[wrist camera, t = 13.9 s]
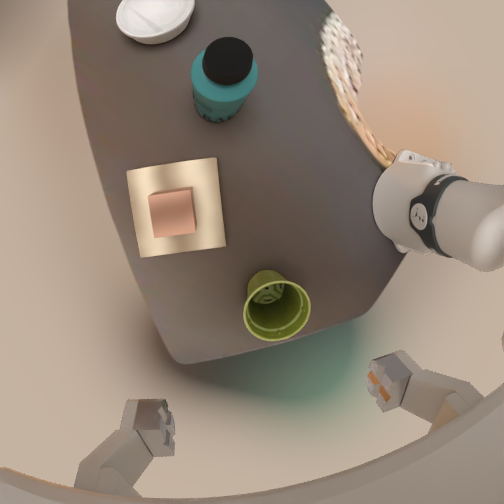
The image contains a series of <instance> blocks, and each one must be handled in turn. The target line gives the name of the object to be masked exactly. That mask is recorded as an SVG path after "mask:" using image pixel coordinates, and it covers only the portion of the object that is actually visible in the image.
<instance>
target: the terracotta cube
mask: <svg viewBox="0 0 504 504" xmlns="http://www.w3.org/2000/svg"><path fill="white" fill-rule="evenodd" d="M148 202H149V209H150V216H151V222H152V228H153V234H154V238H159V237H167V236H174V235H181V234H189V233H196V228H197V219H196V211H195V203H194V195H193V186H191V187H184V188H177V189H170V190H163V191H157V192H154V193H152V194H150V195H149V196H148Z"/></svg>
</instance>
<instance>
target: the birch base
mask: <svg viewBox="0 0 504 504" xmlns="http://www.w3.org/2000/svg"><path fill="white" fill-rule="evenodd" d="M127 179H128V187H129V194H130V200H131V207H132V213H133V219H134V225H135V230H136V236H137V241H138V246H139V251H140V256H141V258H143V257H150V256H157V255H165V254H172V253H179V252H187V251H194V250H202V249H209V248H217V247H225V246H226V242H225V233H224V225H223V216H222V207H221V198H220V188H219V179H218V169H217V159H216V157H215V158H207V159H199V160H191V161H184V162H177V163H170V164H164V165H158V166H152V167H146V168H141V169H135V170H130V171H127ZM191 186H193V195H194V203H195V211H196V219H197V228H196V233H189V234H181V235H174V236H167V237H159V238H154V234H153V228H152V222H151V216H150V209H149V202H148V196H149V195H150V194H152V193H154V192H157V191H163V190H170V189H177V188H184V187H191Z"/></svg>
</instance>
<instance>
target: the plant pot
mask: <svg viewBox="0 0 504 504" xmlns="http://www.w3.org/2000/svg"><path fill="white" fill-rule="evenodd" d="M279 283H281V284H282V287H281V289H280V288H279V287H280V284H279ZM265 287H268V289H267V290H266V289H265ZM247 293H248V299H247V300H246V303H245V305H244V310H243V318H244V322H245V325H246V327H247V328H248V330H249V331H250V332H251V333H252V334H253V335H254V336H256V337H257V338H259V339H262V340H266V341H280V340H284V339H287V338H289V337H291V336H293V335H294V334H296V333H297V332H299V331H300V330H301V329H302V328H303V326H304V325H305V324H306V322H307V320H308V318H309V315H310V311H311V304H310V299H309V297H308V295H307V293H306V292H305V290H304V289H303V288H301V287H300V286H299V285H297V284H295V283H293V282H290V281H287V280H286V279H285V278H284V277H282V276H281V275H280V274H279V273H277V272H276V271H273V270H262V271H259V272H257V273H256V274H255V275H254V276H253V277H252V278H251V279H250V281H249V283H248V288H247ZM268 299H272V300H270V301H264V300H268Z"/></svg>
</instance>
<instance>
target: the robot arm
mask: <svg viewBox="0 0 504 504" xmlns="http://www.w3.org/2000/svg"><path fill="white" fill-rule="evenodd" d="M409 156H410V159H409ZM373 214H374V218H375V221H376V224H377V226H378V228H379V229H380V231H381V232H382V233H383V234H384V235H385V236H386V237H388V238H389V239H391V240H392V241H393V243H394V245H395V247H396V249H397V250H398V251H399V252H401V253H406V252H408V251H410V250H413V251H415V252H418V253H421V254H423V255H429V254H430V253H433V252H435V253H436V254H439V255H441V256H445V257H449V258H455V259H457V260H460V261H462V262H464V263H466V264H468V265H469V266H471V267H474V268H475V269H477V270H479V271H484V272H489V271H494V270H496V269H499V268H501V267H503V266H504V185H492V184H483V183H476V182H470V181H468V180H467V179H465V178H463V177H460V176H458V175H456V172H455V170H454V168H453V167H452V164H451V163H447V162H440V161H437V160H434V159H431V158H428V157H426V156H423V155H420V154H417V153H414V152H411V151H408V150H403V149H402V150H400V151H399V152H398V154H397V156H396V158H395V160H394V162H393V164H392V165H390V166H389V167H388V168H387V169H386V170H385V171H384V172H383V173H382V175H381V176H380V178H379V180H378V182H377V184H376V187H375V190H374V194H373ZM502 346H503V350H504V333H503V336H502ZM369 368H370V370H371V371H370V372H369V374H368V375H367V379H366V383H367V388H368V391H369V392H370V394H371V395H372V396H374V397H377V400H376V403H377V404H378V406H379V407H380V409H381V410H382V412H386V411H389V410H391V409H394V408H397V407H399V406H400V407H401V408H403V409H405V410H407V411H409V412H411V413H413V414H415V415H416V416H418V417H421V418H423V419H425V420H426V421H429V422H431V423H432V426H431V428H430V430H429V432H428V434H427V435H425V436H423V437H422V438H420V439H418V440H416V441H414V442H412V443H410V444H408V445H406V446H404V447H401V448H399V449H397V450H395V451H393V452H391V453H388V454H386V455H384V456H381V457H379V458H377V459H374V460H372V461H369V462H367V463H364V464H362V465H359V466H357V467H353V468H350V469H348V470H345V471H342V472H339V473H335V474H332V475H329V476H326V477H322V478H319V479H315V480H312V481H308V482H304V483H300V484H296V485H292V486H287V487H283V488H277V489H272V490H267V491H261V492H255V493H248V494H241V495H233V496H223V497H209V498H185V499H166V498H143V497H142V496H141V495H139V494H138V493H137V491H135V489H133V487H132V486H133V485H134V484H135V483H136V481H137V480H138V478H139V477H140V476H141V474H142V473H143V472H144V470H145V469H146V468H147V466H148V465H149V463H150V462H151V461H152V459H153V457H163V456H174V449H175V442H174V440H173V438H172V437H173V436H174V435H175V423H174V419H173V415H172V413H171V412H170V411H168V404H167V402H166V400H165V399H137V400H135V399H133V400H132V399H131V400H129V399H128V400H127V401H126V403H125V408H124V412H123V416H122V421H121V426H120V430H115V431H114V432H113V433H112V434H111V435H110V436H109V437H108V438H107V439H106V440H105V441H104V442H102V443H101V444H100V445H99V446H98V447H97V448H96V449H95V450H94V451H92V452H91V453H90V454H89V455H88V456H87V457H86V458H85V459H84V460H82V461H81V462H80V464H79V468H78V472H77V476H76V480H75V484H74V488H72V487H68V486H64V485H60V484H56V483H52V482H48V481H45V480H41V479H38V478H35V477H32V476H29V475H25V474H23V473H20V472H17V471H14V470H12V469H9V468H6V467H1V468H0V504H504V383H503V384H502V385H501V386H500V387H498V388H497V389H496V390H494V391H493V392H492V393H490V394H489V395H488V396H486V397H485V398H484V397H483V396H482V395H481V394H480V393H479V392H478V391H477V390H476V389H475V388H474V387H473V386H472V385H471V384H470V383H469V382H466V381H463V380H459V379H456V378H452V377H449V376H446V375H442V374H439V373H436V372H433V371H429V370H426V369H425V370H422V369H421V368H420V367H419V366H418V365H417V364H416V363H415V361H413V359H412V358H411V357H410V356H409V355H408V354H407V353H406V352H405V351H403V350H399V351H396V352H394V353H391V354H388V355H385V356H382V357H379V358H377V359H373V360H371V362H370V364H369Z"/></svg>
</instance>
